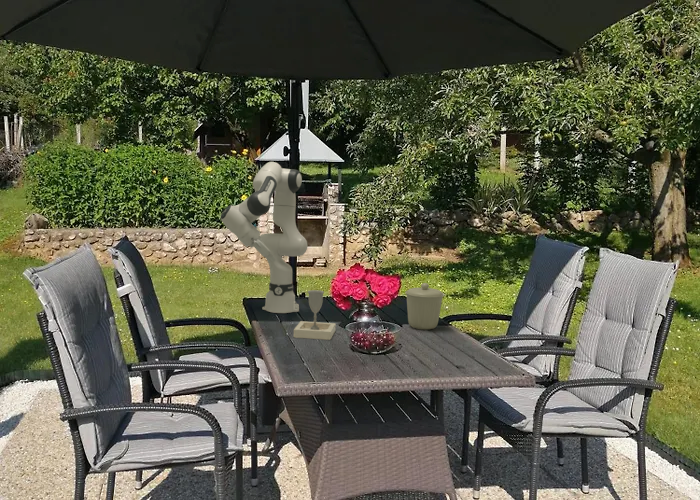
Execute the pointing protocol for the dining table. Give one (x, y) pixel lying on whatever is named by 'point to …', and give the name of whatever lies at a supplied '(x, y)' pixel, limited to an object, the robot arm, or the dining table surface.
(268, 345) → the dining table surface
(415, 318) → the canister
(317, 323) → the tray
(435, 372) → the dining table surface
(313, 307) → the chalice
